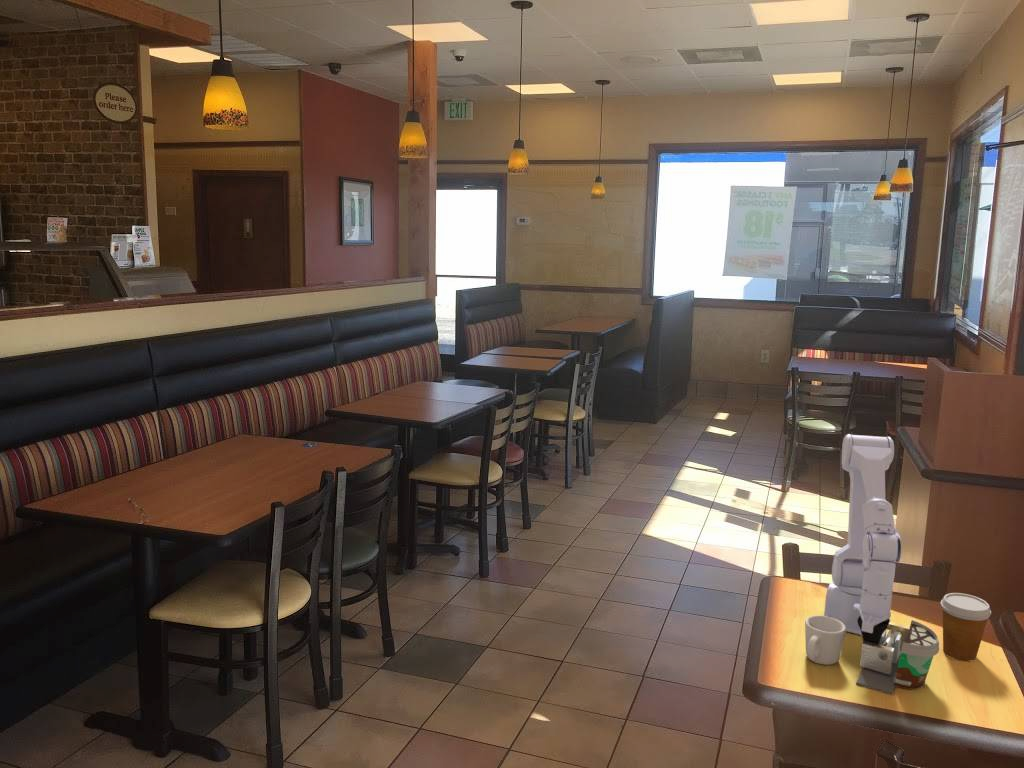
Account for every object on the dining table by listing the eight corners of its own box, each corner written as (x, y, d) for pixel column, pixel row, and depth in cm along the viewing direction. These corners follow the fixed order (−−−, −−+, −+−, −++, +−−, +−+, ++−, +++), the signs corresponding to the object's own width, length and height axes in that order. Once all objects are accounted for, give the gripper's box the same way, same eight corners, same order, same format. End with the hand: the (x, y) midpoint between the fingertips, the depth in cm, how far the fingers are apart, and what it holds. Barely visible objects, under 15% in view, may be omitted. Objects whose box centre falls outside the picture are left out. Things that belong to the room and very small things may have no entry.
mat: (856, 684, 169) (856, 682, 169) (876, 642, 187) (876, 640, 187) (891, 694, 166) (892, 692, 166) (909, 650, 183) (909, 649, 183)
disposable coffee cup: (991, 667, 177) (998, 614, 175) (941, 662, 179) (948, 608, 176) (976, 645, 186) (983, 594, 184) (929, 640, 188) (935, 589, 186)
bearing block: (877, 660, 179) (880, 635, 178) (880, 653, 182) (883, 628, 181) (895, 665, 177) (898, 640, 176) (898, 658, 180) (901, 633, 179)
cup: (827, 678, 171) (831, 641, 170) (789, 664, 177) (793, 628, 175) (848, 659, 179) (852, 623, 178) (811, 645, 184) (815, 611, 183)
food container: (926, 701, 164) (937, 654, 162) (892, 688, 167) (902, 643, 165) (934, 673, 174) (944, 629, 172) (902, 662, 177) (911, 618, 175)
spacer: (875, 644, 183) (878, 621, 182) (877, 642, 184) (879, 619, 183) (906, 652, 179) (909, 629, 178) (907, 650, 180) (910, 626, 179)
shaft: (859, 666, 174) (862, 643, 173) (872, 640, 185) (874, 619, 184) (890, 674, 171) (892, 651, 170) (901, 648, 182) (903, 626, 181)
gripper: (863, 573, 181) (857, 632, 184) (848, 597, 169) (842, 660, 172) (899, 581, 178) (892, 641, 180) (886, 606, 166) (879, 670, 168)
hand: (870, 651), depth 176 cm, fingers closed
